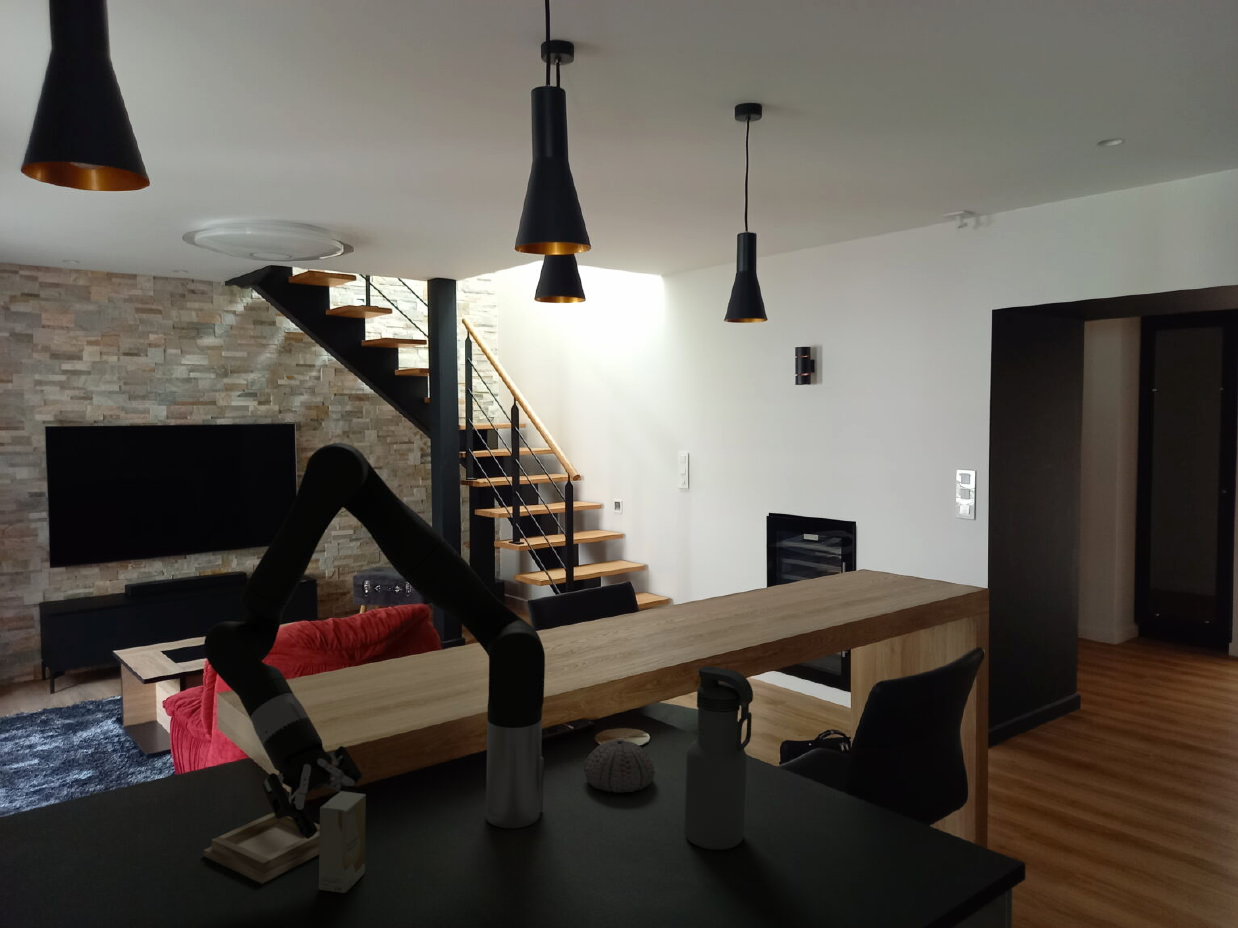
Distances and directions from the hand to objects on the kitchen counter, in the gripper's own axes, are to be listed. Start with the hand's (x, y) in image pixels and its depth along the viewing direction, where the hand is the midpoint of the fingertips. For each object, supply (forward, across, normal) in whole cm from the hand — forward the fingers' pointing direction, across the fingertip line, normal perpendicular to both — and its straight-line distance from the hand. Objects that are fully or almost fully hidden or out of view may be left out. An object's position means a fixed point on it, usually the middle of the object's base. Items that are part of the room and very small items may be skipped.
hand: (336, 823), depth 129 cm
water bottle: (+35, +43, -23) cm, 60 cm away
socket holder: (-4, 0, +16) cm, 17 cm away
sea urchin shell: (+18, +52, -6) cm, 55 cm away
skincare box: (+7, 0, +5) cm, 9 cm away
